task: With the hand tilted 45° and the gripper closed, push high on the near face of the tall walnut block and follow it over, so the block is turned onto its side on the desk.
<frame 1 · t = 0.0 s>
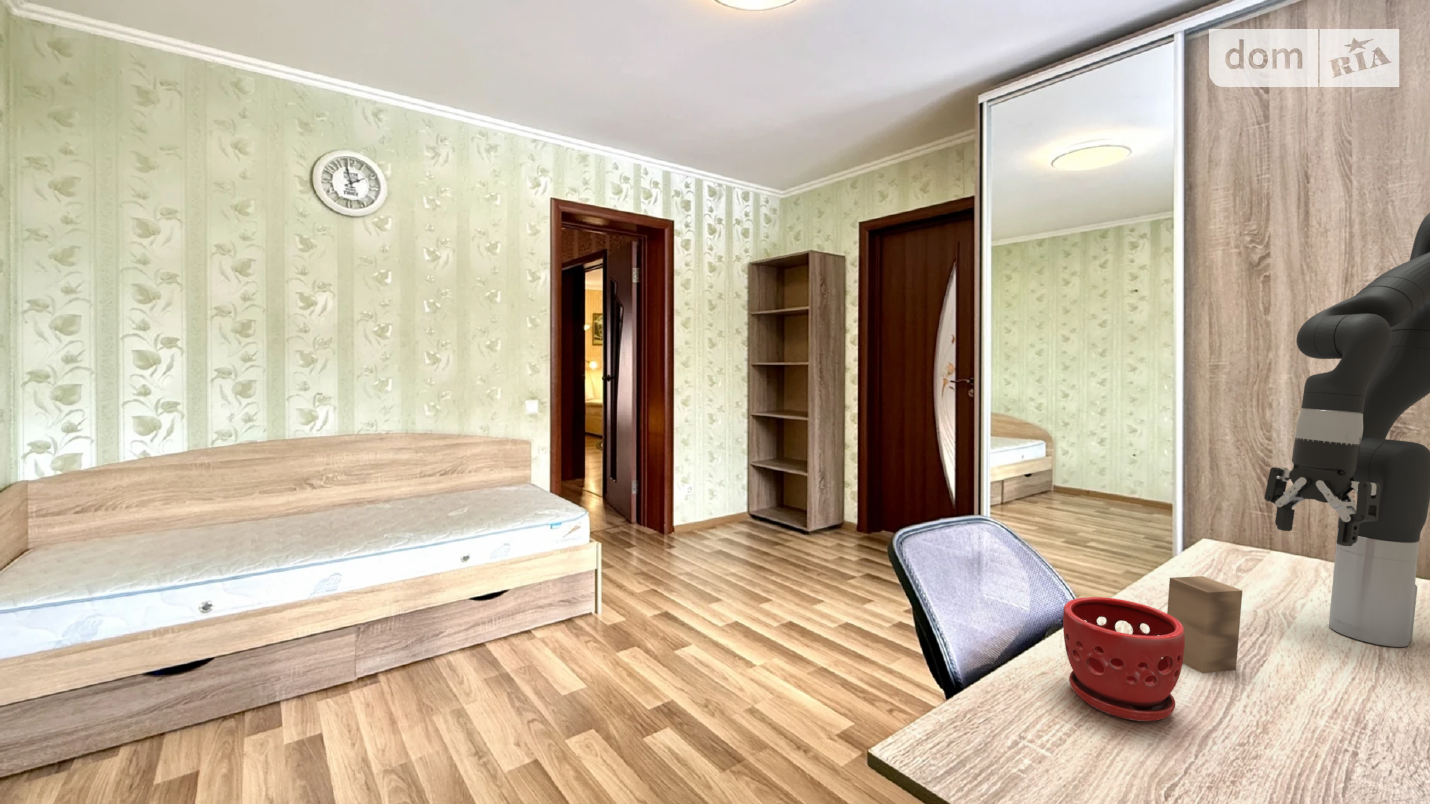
hand: (1312, 537, 98), 17 cm above the table, tool pointing down, fingers open, 8 cm apart
walnut block: (1199, 661, 91), on the table
plant pot: (1116, 703, 80), on the table
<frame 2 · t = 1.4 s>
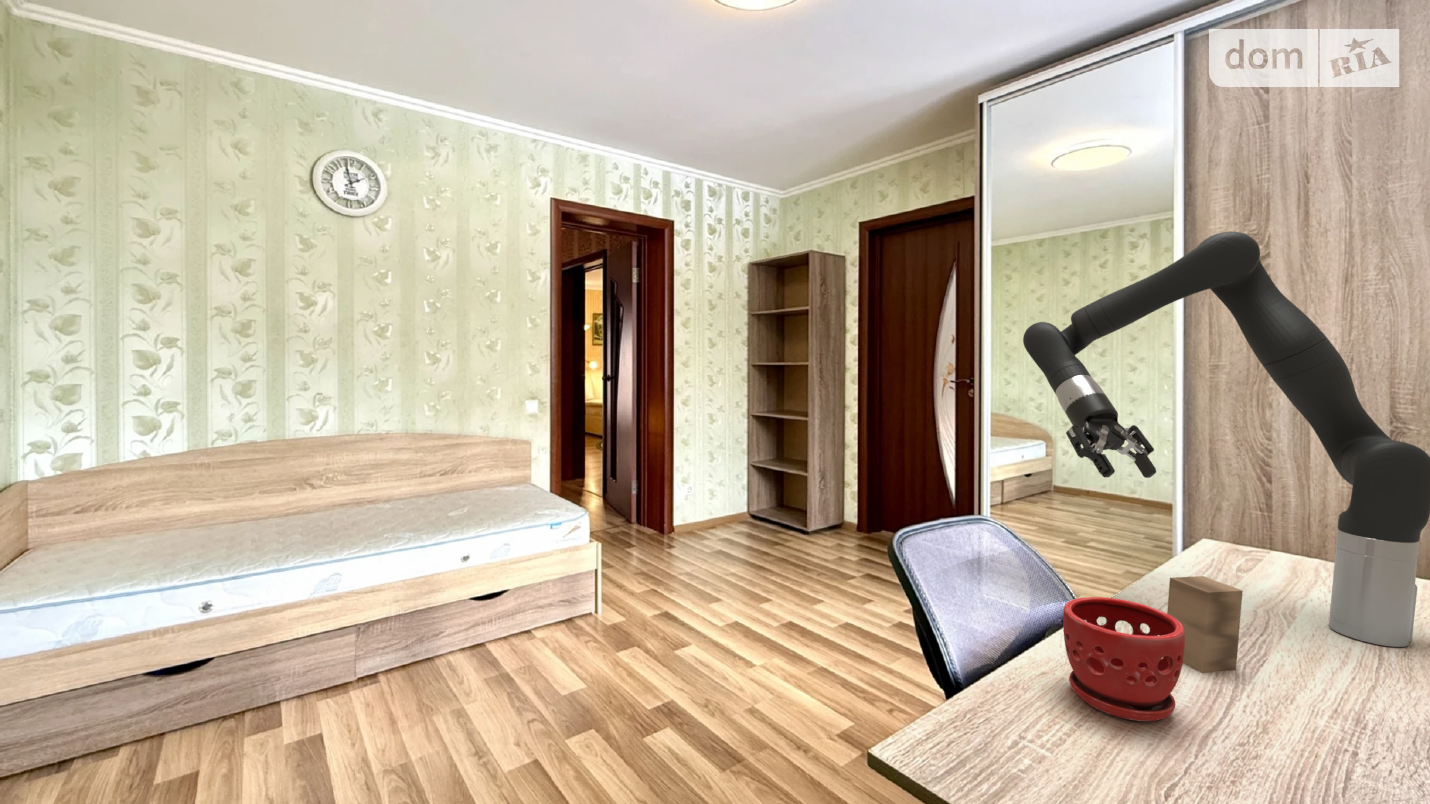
hand: (1130, 475, 106), 25 cm above the table, tool tilted 45°, fingers open, 8 cm apart
nothing on the table moved.
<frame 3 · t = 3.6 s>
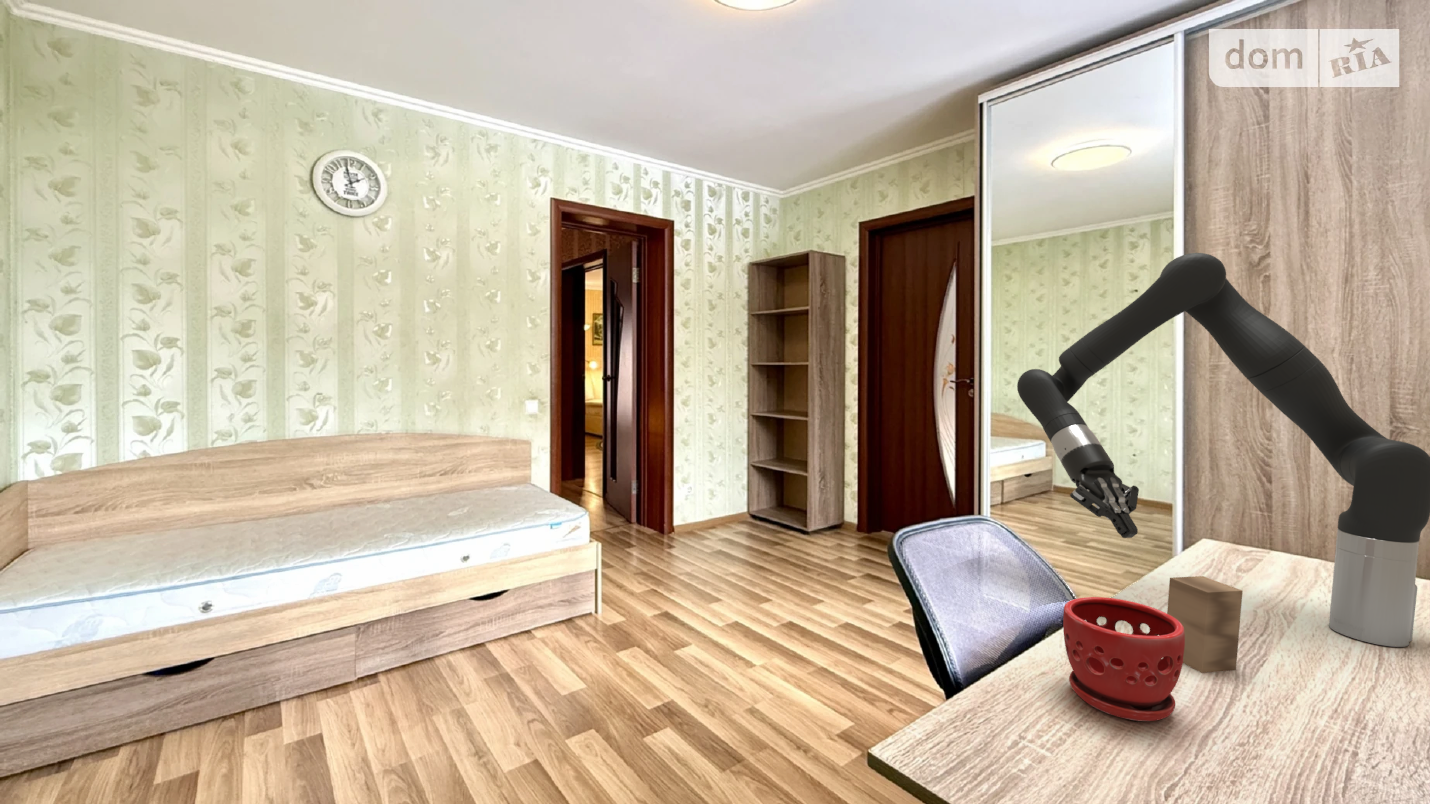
hand: (1130, 535, 103), 15 cm above the table, tool tilted 45°, fingers closed
nothing on the table moved.
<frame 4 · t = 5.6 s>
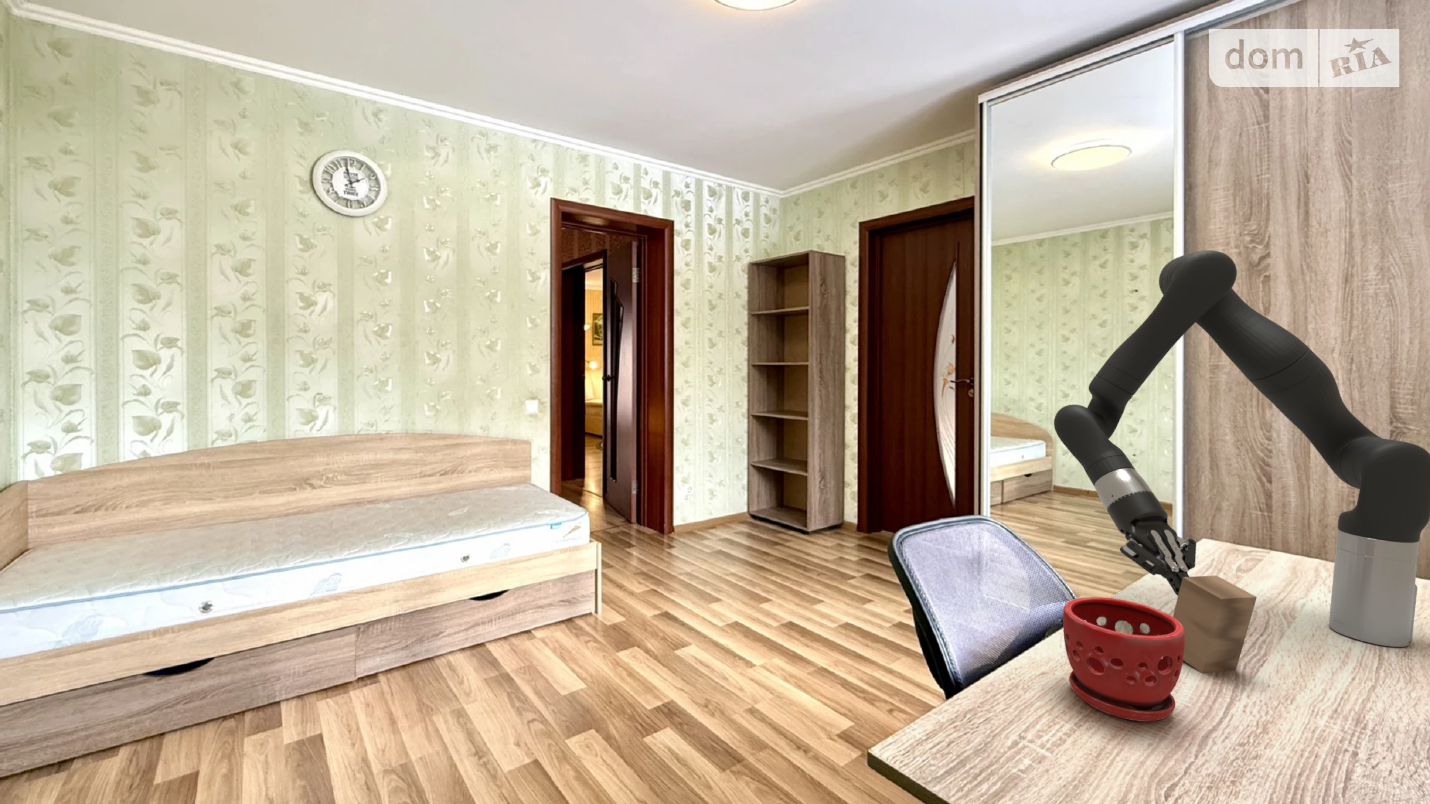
hand: (1190, 598, 93), 9 cm above the table, tool tilted 45°, fingers closed
walnut block: (1199, 658, 91), on the table, tilted 10°
everything else where it was.
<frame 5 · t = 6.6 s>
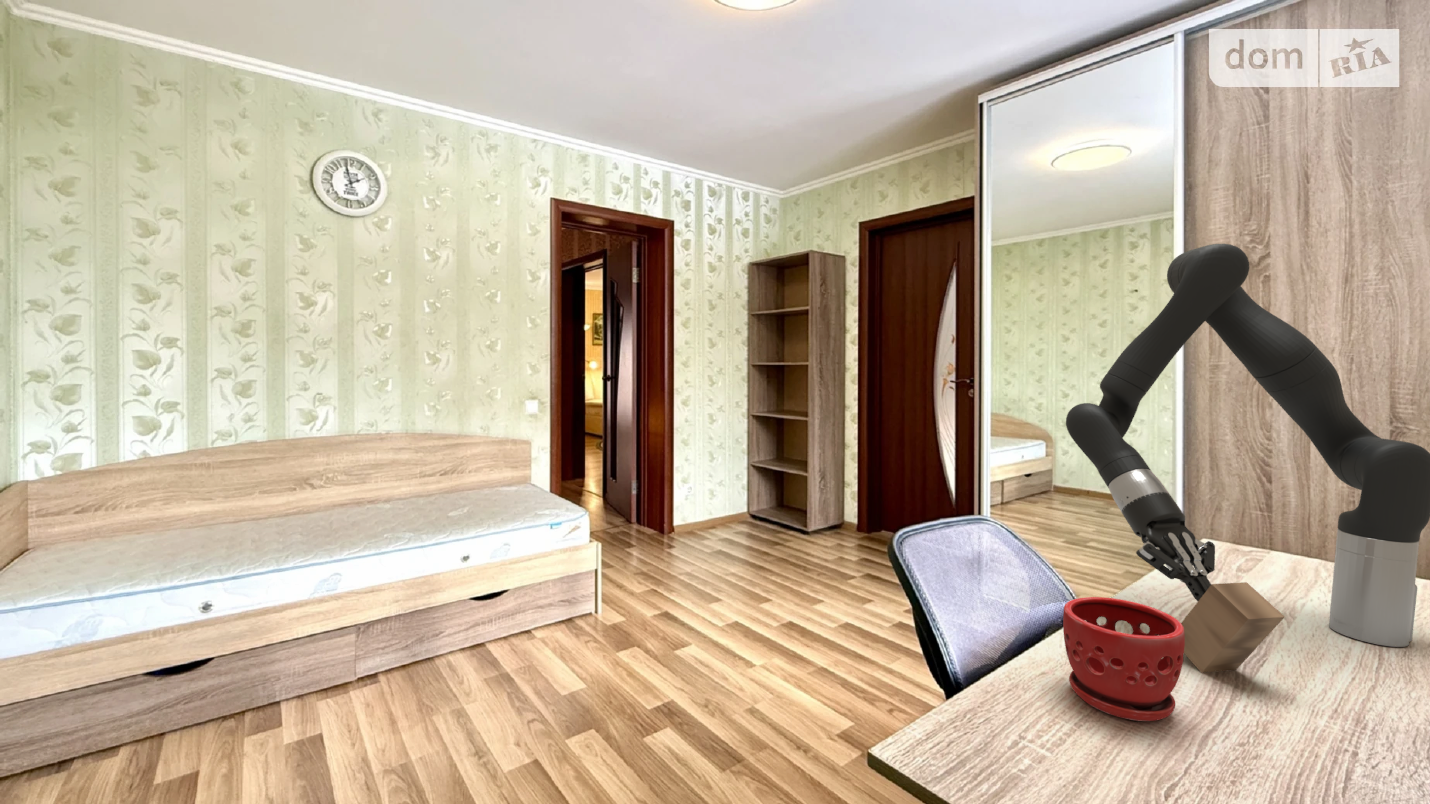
hand: (1210, 603, 89), 9 cm above the table, tool tilted 45°, fingers closed
walnut block: (1202, 653, 91), point 1 cm above the table, tilted 29°
everything else where it was.
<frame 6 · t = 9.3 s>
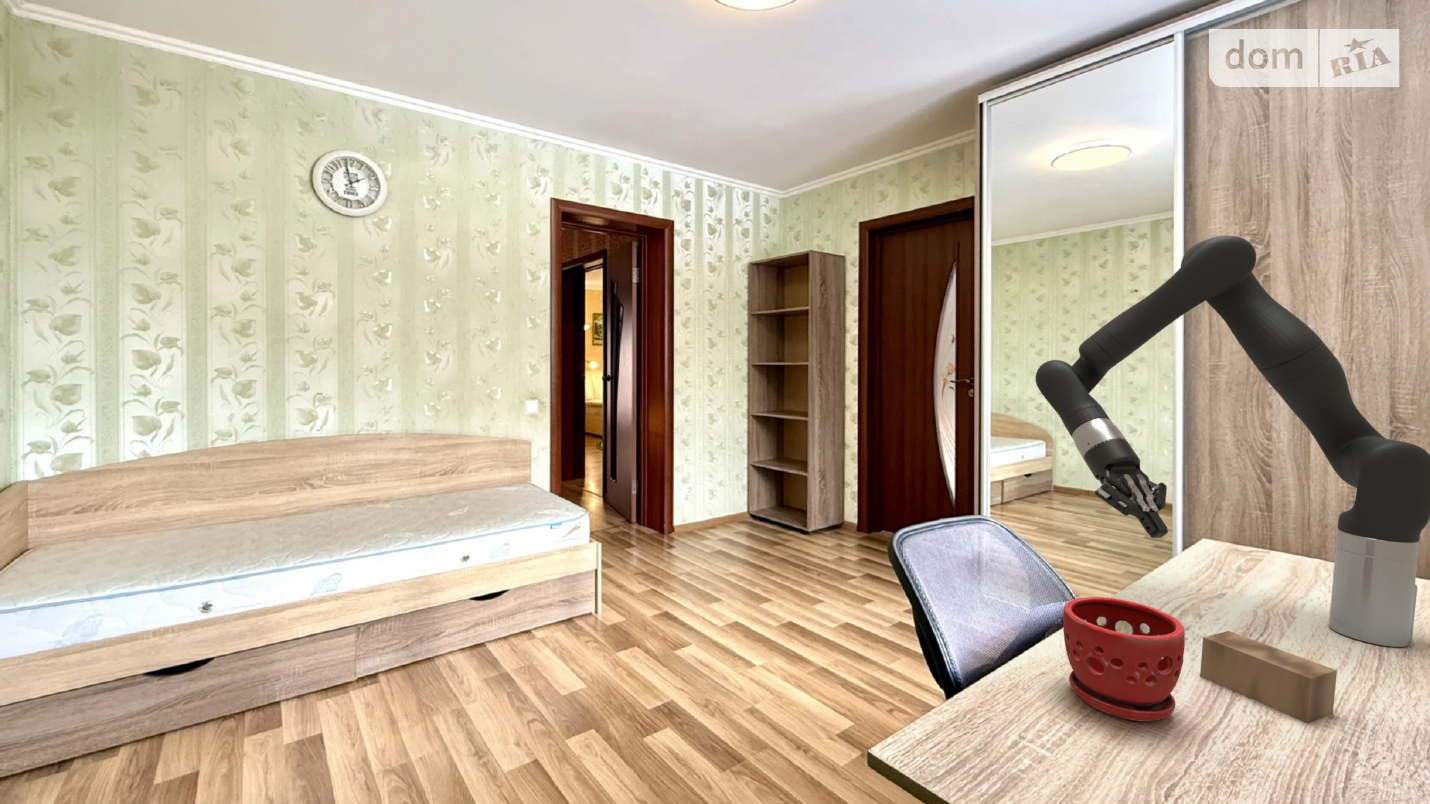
hand: (1160, 535, 98), 17 cm above the table, tool tilted 45°, fingers closed
walnut block: (1214, 654, 88), point 3 cm above the table, tilted 90°
everything else where it was.
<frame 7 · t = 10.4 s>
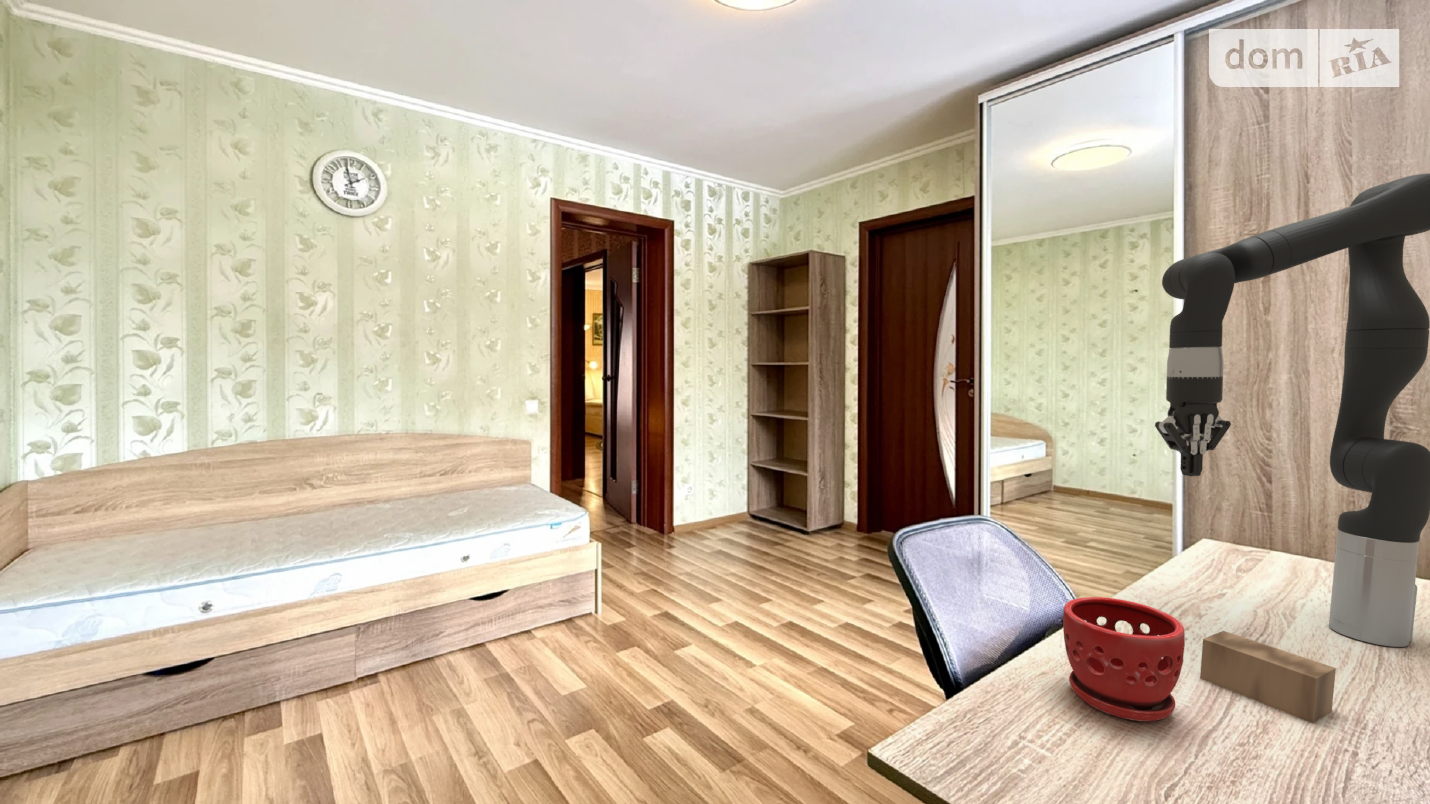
hand: (1191, 475, 103), 26 cm above the table, tool pointing down, fingers closed
nothing on the table moved.
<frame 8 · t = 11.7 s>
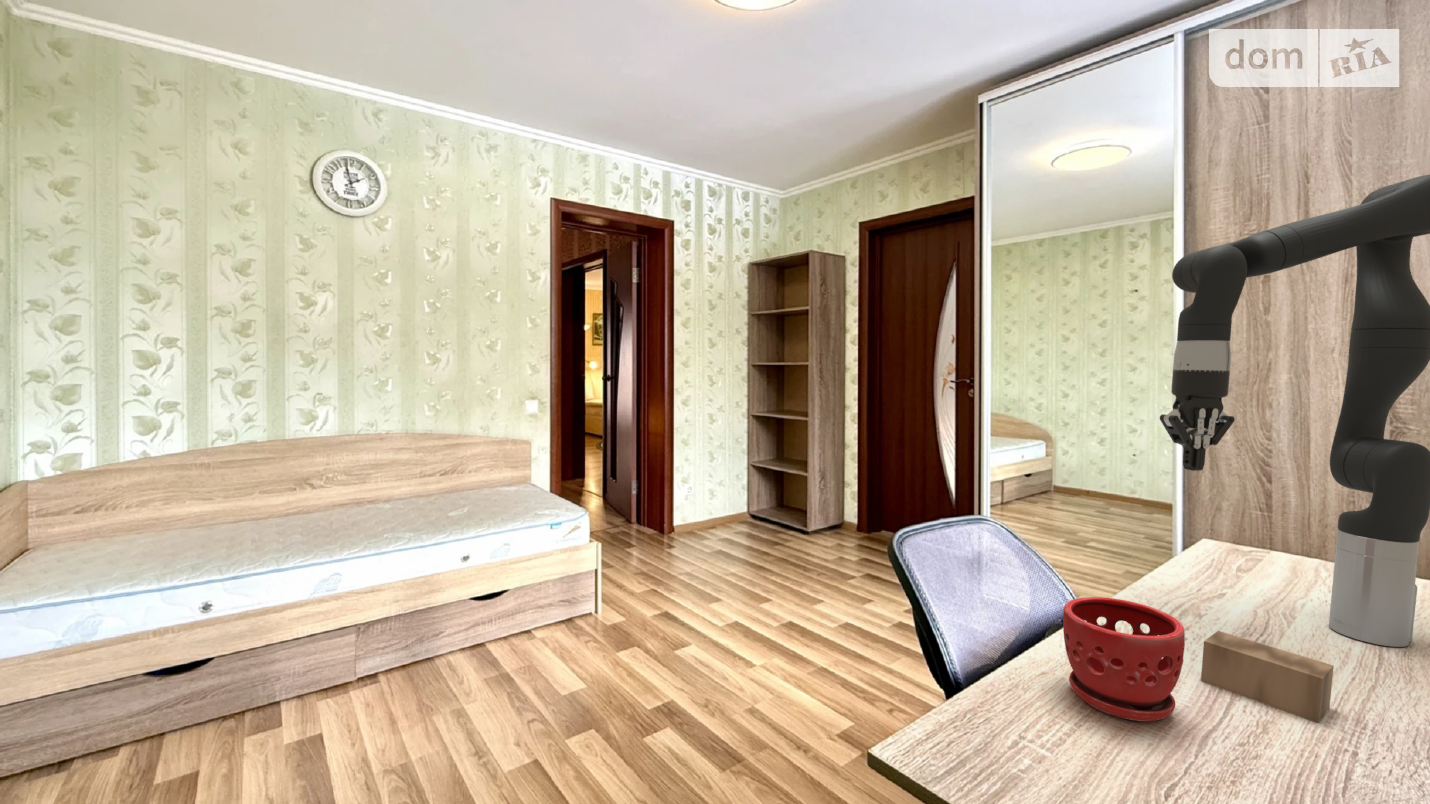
hand: (1193, 469, 103), 27 cm above the table, tool pointing down, fingers closed
nothing on the table moved.
at the end: walnut block tilted 90°; walnut block inside the target area (3.9 cm from its centre), point 2.8 cm above the table; the gripper is holding nothing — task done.
